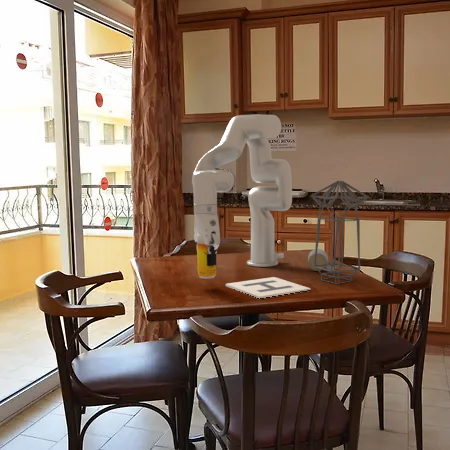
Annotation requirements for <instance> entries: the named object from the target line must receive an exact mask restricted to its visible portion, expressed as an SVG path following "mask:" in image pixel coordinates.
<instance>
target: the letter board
mask: <svg viewBox="0 0 450 450" xmlns="http://www.w3.org/2000/svg"><path fill="white" fill-rule="evenodd" d="M225 287H227V288H230V289H232V290H234V289H235V290H234V291H237V292H239V291H240V293H242V292H243V293H242V294H245V293H246V294H245V295H247V294H249V295H248V296H250V295H251V296H250V297H252V296H254V297H253V298H255V297H256V298H255V299H257V298H259V299H258V300H261V299H260V298H264V299H267V298H266V297H270V298H273V297H272V296H276V297H279V296H278V295H282V296H285V295H284V294H288V295H291V294H290V293H294V294H296V293H295V292H300V291H307V290H311V288H310V287H307V286H303V285H301V284H297V283H295V282H291V281H289V280H285V279H282V278H280V277H275V276H271V277H266V278H265V277H263V278H258V279H257V278H256V279H249V280H242V281H237V282H236V281H235V282H228V283H225ZM307 292H308V291H307ZM300 293H301V292H300Z"/></svg>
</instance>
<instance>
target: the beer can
mask: <svg viewBox="0 0 450 450" xmlns="http://www.w3.org/2000/svg"><path fill="white" fill-rule="evenodd" d="M210 244H213V242H210ZM211 247H212V246H210V249H211ZM207 254H208V251H207V245H205V244H204V241H203V237H202V235H201V233H198V234H197V250H196V259H197V260H196V262H197V276H198V277H199V278H200V279H214V278H215V276H216V275H217V264H216V265H214V266H207Z"/></svg>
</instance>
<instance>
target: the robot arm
mask: <svg viewBox="0 0 450 450" xmlns="http://www.w3.org/2000/svg"><path fill="white" fill-rule="evenodd" d="M281 131H282V123H281V119H280V118H279V117H278V116H277V115H275V114H257V113H256V114H240V115H239V114H238V115H236V116H233V117H232V118H231V120H230V121H229V123H228V124H227V126H226V129H225V131H224V133H223V135H222V137H221V140H220V142H219V144H217V145H216V146H214V147H213V148H211V149H210V150H209V151H207V152H206V153H205V154H204V155H203V156H202V157H201V158H200V159H199V160H198V163H197V164H196V167H195V169H194V171H193V173H192V178H191V185H192V189H193V191H192V192H193V214H194V219H193V221H194V223H193V240H194V242H195V246H196V248H195V249H196V251H197V234H198V233H201V235H202V237H203V241H204V244H205V245H207V251H208V254H207V266H214V265H216V266H217V253H218V249H219V246H220V242H221V233H220V222H219V216H218V201H217V200H218V197H217V196H218V194H217V193H227V192H229V191H230V190H232V188H233V187H234V185H235V178H234V175H233V174H232V172H230V171H229V170H226V169H216V168H218V167H220V166H223V165H225V164H228V163H231V162H233V161H235V160H238V159H239V158H240V157H241V156H242V154H243V151H244V149H245V146H246V144H247V147H248V150H249V151H248V152H249V161H250V162H249V165H250V167H249V168H250V176H251V180H252V181H253V182H255V183H257V184H275V185H277V186H272V185H271V186H268V185H265V186H264V185H260V186H259V185H258V186H254V187H253V188H251V189H249V192H248V194H247V195H248V196H247V199H248V206H249V211H250V259H248V260H247V261H246V264H247V265H248V266H250V267H251V266H252V267H256V268H257V267H259V268H261V267H263V268H265V267H266V268H267V267H275V266H278V264H279V261H278V259H283V258H285V254H284V253H283V252H282V253H277V252H275V219H274V217H273V215H272V213H271V212H270V211H276V212H277V211H279V212H284V211H288V210H289V209H290V208H291V206H292V202H293V188H292V187H293V185H292V182H293V181H292V169H291V166H290V163H289V162H288V161H287V160H286V159H282V158H273V157H272V147H271V144H270V141H269V140H268V139H274V138H277V137H278V136H279V135H280V133H281ZM210 242H213V244H210ZM210 246H212V247H211V249H210Z"/></svg>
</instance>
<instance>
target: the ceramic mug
mask: <svg viewBox="0 0 450 450" xmlns="http://www.w3.org/2000/svg"><path fill="white" fill-rule="evenodd" d="M314 260H315V249H313V250H311V251H310V252H309V253H308V257H307V264H308V266H309V268H310V270H312V271H315V272H319V271H320V272H322V271H323V270H322V269H318V270H319V271H318V270H317V269H316V268H314ZM323 264H331V261H329V256H328V253H327V252H326V251H325V250H324V249H321V248H318V249H317V258H316V265H323ZM336 266H337V265H335V270H336V269H337V267H336ZM318 267H320V268H324V269H328V270H331V265H327V266H318ZM332 271H334V265H332Z"/></svg>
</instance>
